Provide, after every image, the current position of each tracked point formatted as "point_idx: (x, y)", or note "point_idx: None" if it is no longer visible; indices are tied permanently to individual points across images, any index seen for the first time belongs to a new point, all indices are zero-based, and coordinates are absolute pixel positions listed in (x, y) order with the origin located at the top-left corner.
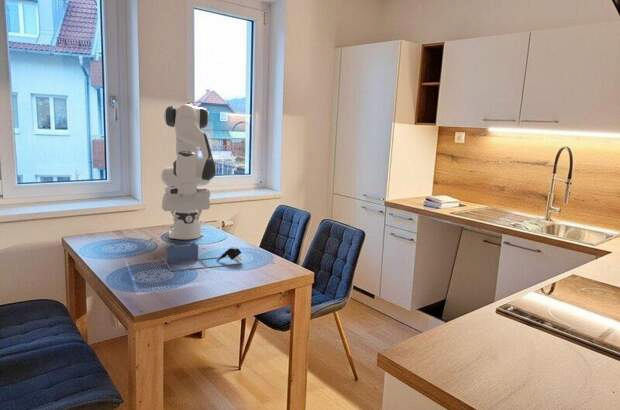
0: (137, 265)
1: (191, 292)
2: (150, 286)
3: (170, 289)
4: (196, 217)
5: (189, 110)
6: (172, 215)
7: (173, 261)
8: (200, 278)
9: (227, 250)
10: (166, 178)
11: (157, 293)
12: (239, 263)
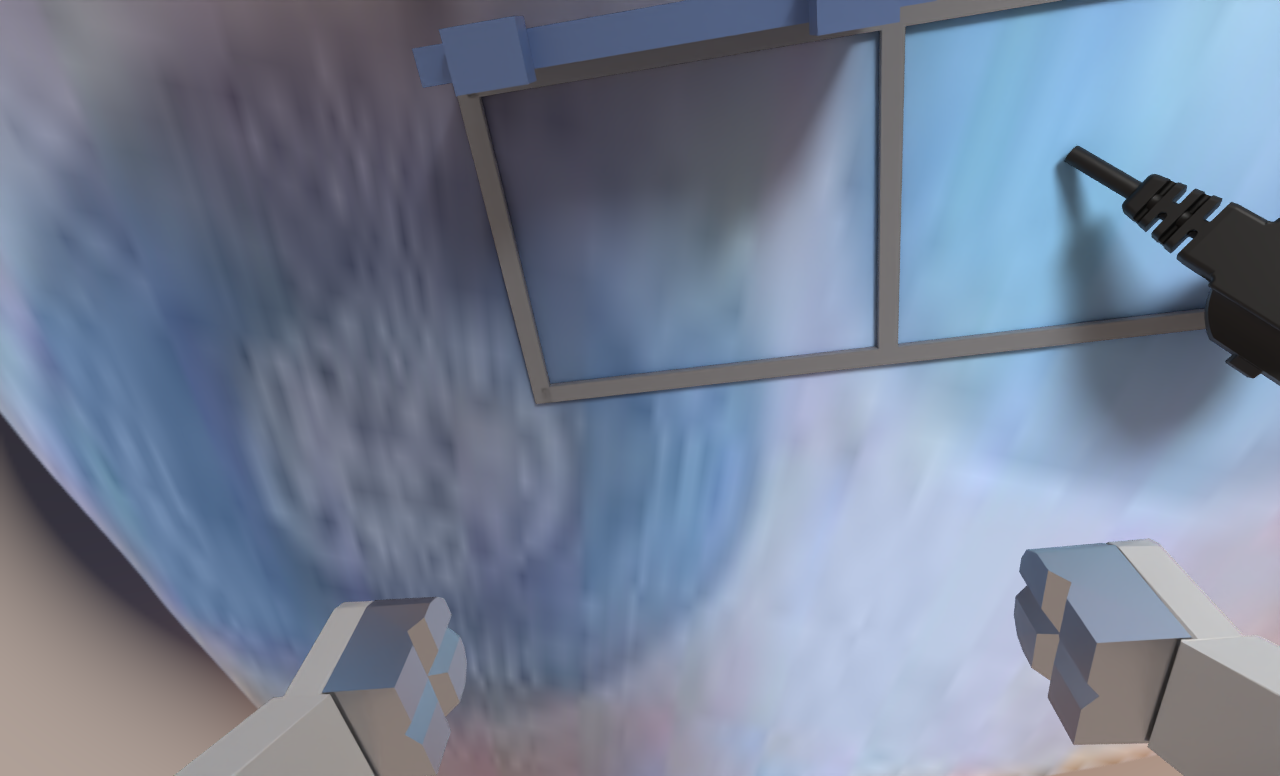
0: (179, 131)
1: (662, 763)
2: None
3: (546, 709)
4: (1065, 698)
5: None
6: (244, 735)
7: (557, 71)
8: (757, 589)
9: (1256, 314)
10: None
11: (477, 739)
12: None
